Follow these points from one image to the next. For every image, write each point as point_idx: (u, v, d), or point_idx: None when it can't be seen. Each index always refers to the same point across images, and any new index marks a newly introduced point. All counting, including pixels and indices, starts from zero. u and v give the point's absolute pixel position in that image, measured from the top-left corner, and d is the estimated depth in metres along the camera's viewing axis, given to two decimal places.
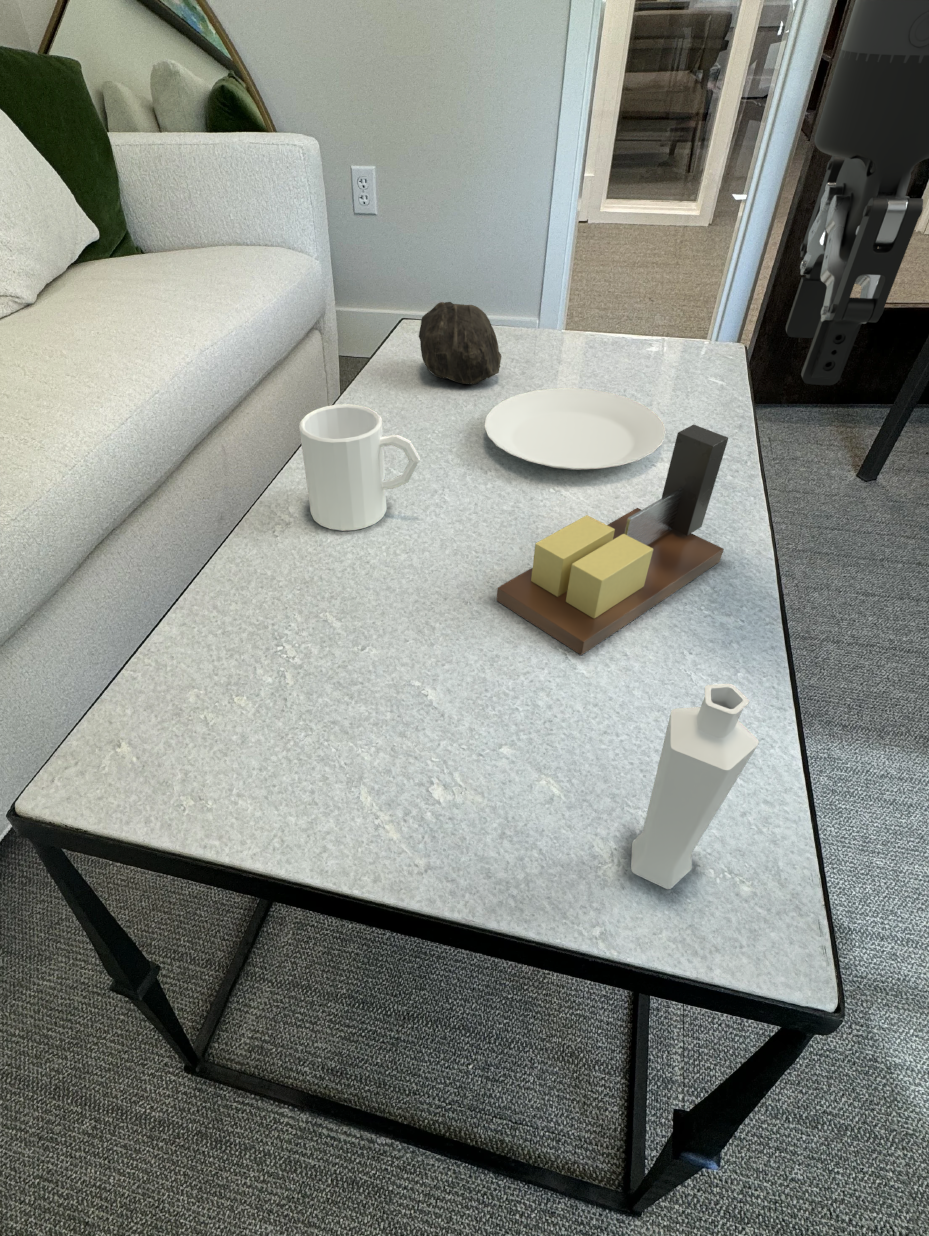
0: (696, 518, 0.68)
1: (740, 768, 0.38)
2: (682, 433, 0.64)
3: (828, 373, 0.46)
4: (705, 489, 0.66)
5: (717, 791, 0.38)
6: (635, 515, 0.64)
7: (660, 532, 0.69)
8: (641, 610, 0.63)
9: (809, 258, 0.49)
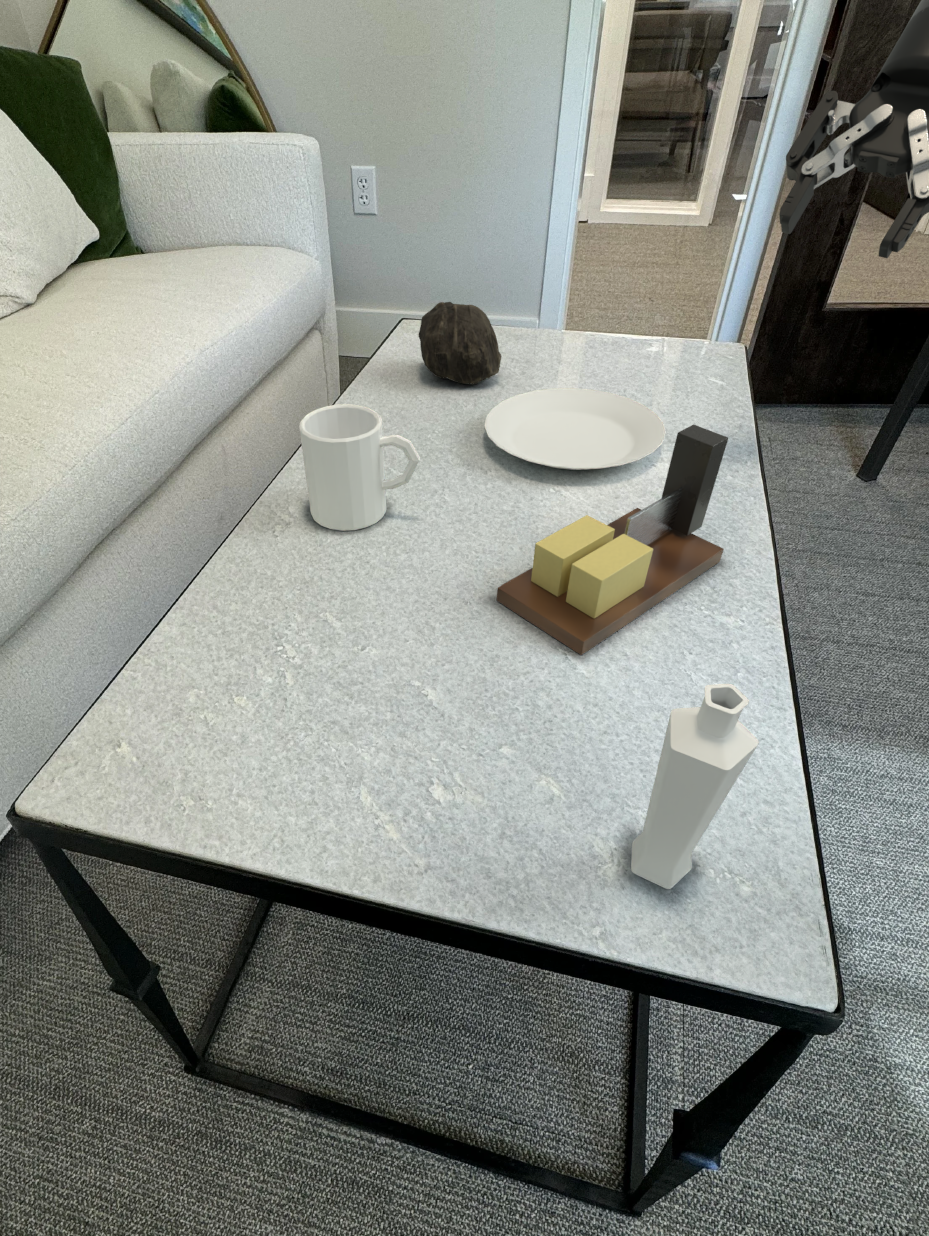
0: (696, 518, 0.68)
1: (740, 768, 0.38)
2: (682, 433, 0.64)
3: None
4: (705, 489, 0.66)
5: (717, 791, 0.38)
6: (635, 515, 0.64)
7: (660, 532, 0.69)
8: (641, 610, 0.63)
9: None
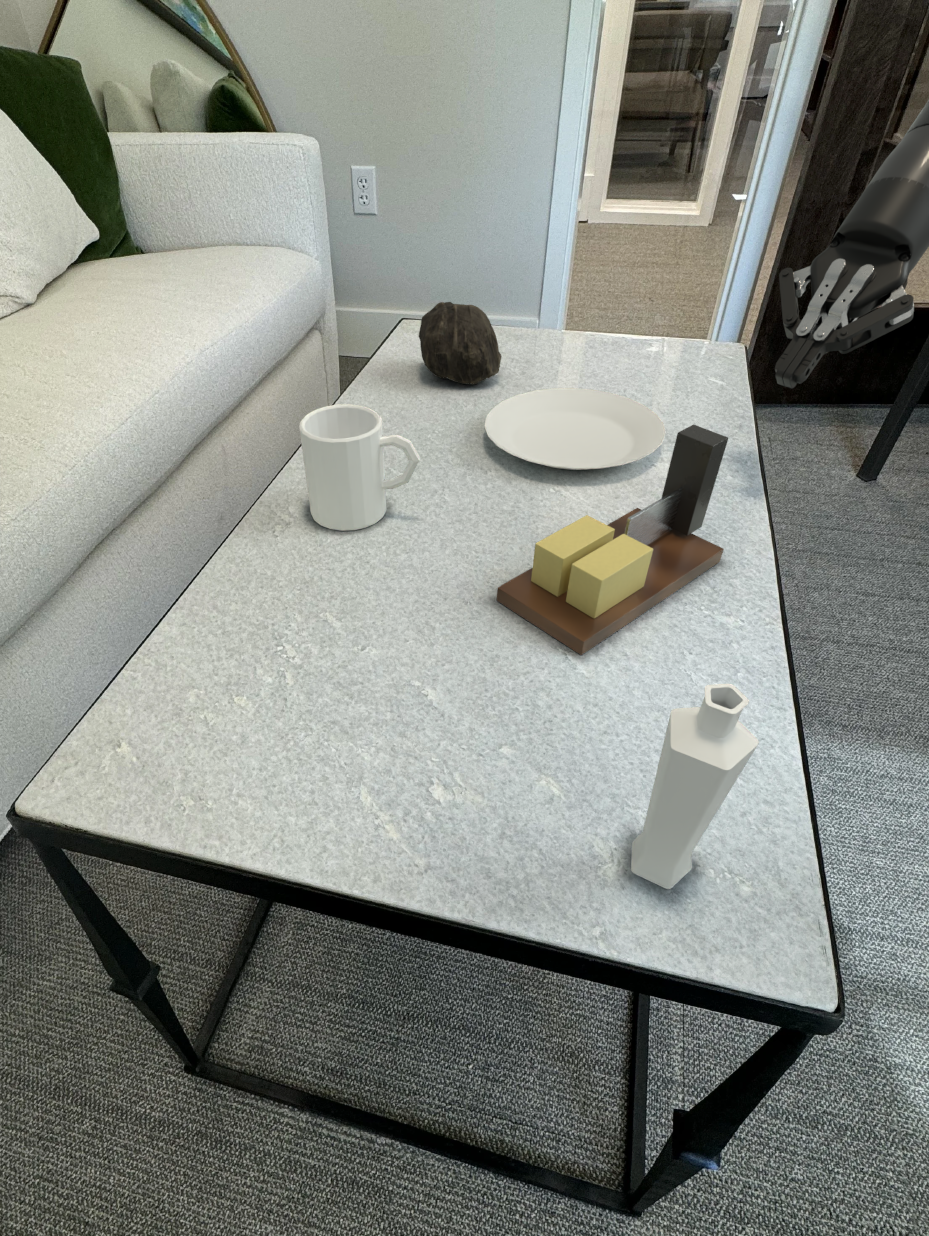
0: (696, 518, 0.68)
1: (740, 768, 0.38)
2: (682, 433, 0.64)
3: None
4: (705, 489, 0.66)
5: (717, 791, 0.38)
6: (635, 515, 0.64)
7: (660, 532, 0.69)
8: (641, 610, 0.63)
9: None
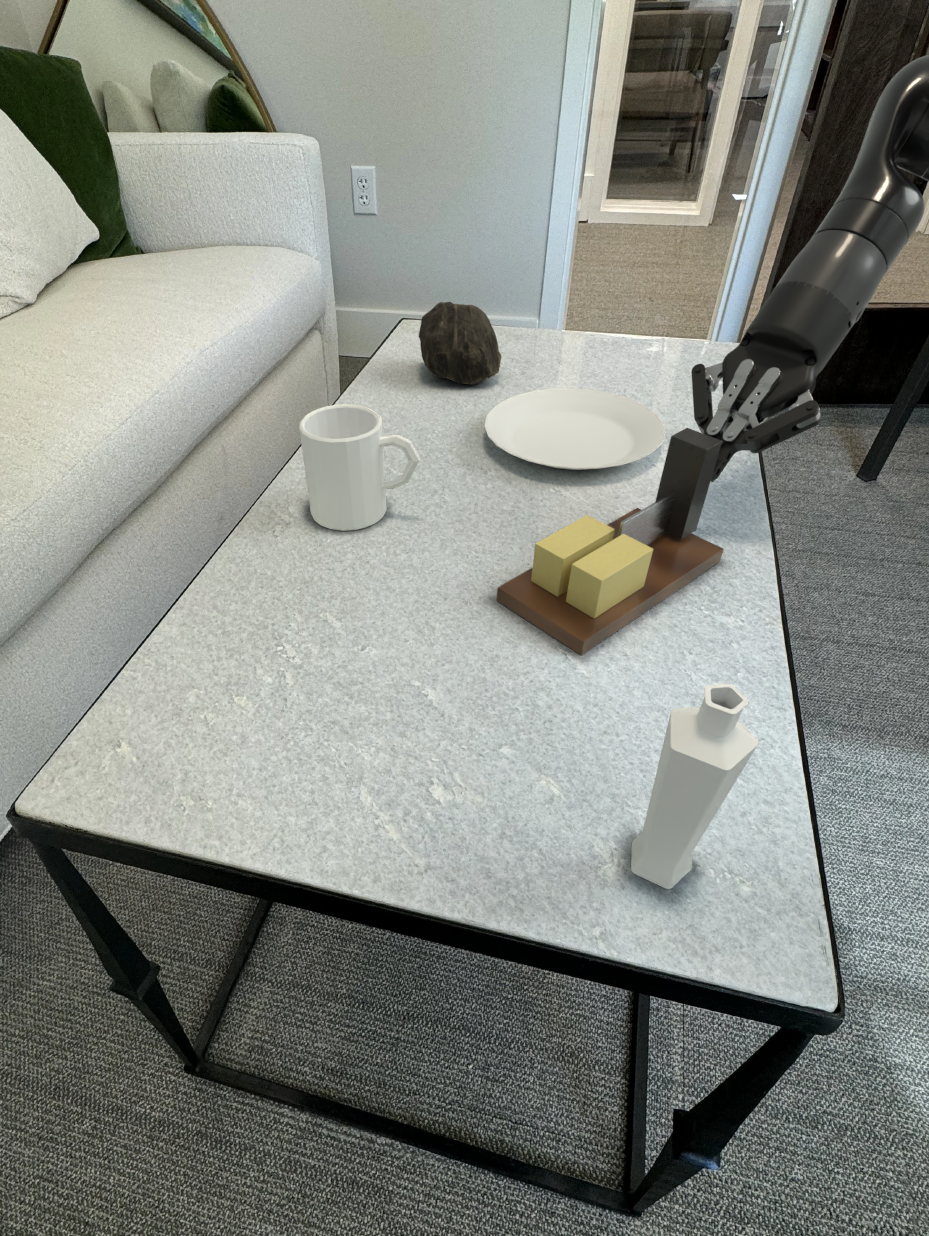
0: (690, 522, 0.68)
1: (740, 768, 0.38)
2: (676, 436, 0.64)
3: None
4: (699, 493, 0.66)
5: (717, 791, 0.38)
6: (628, 519, 0.63)
7: (654, 536, 0.68)
8: (641, 610, 0.63)
9: None
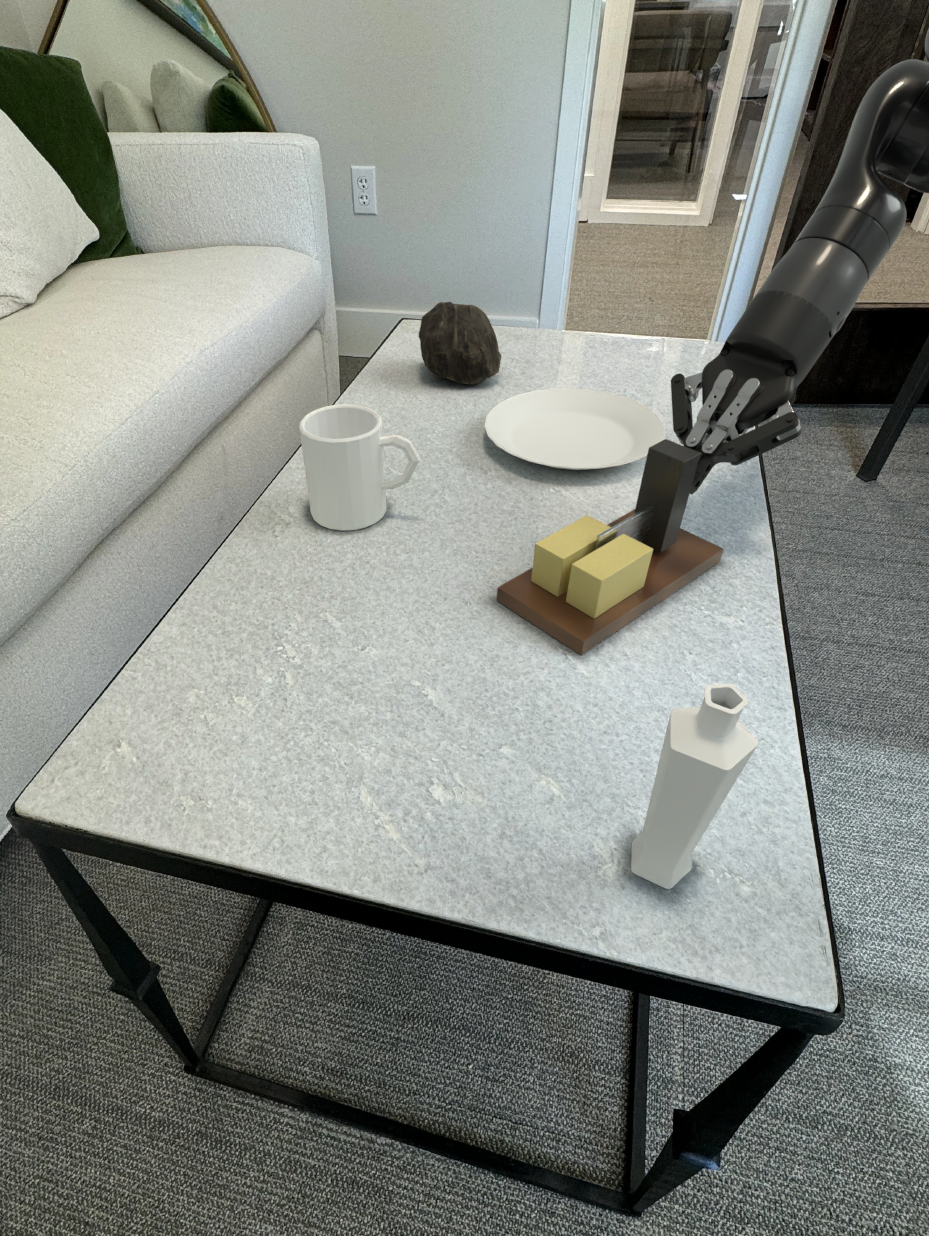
0: (669, 534, 0.66)
1: (740, 768, 0.38)
2: (653, 448, 0.63)
3: None
4: (678, 505, 0.64)
5: (717, 791, 0.38)
6: (605, 533, 0.62)
7: None
8: (641, 610, 0.63)
9: None
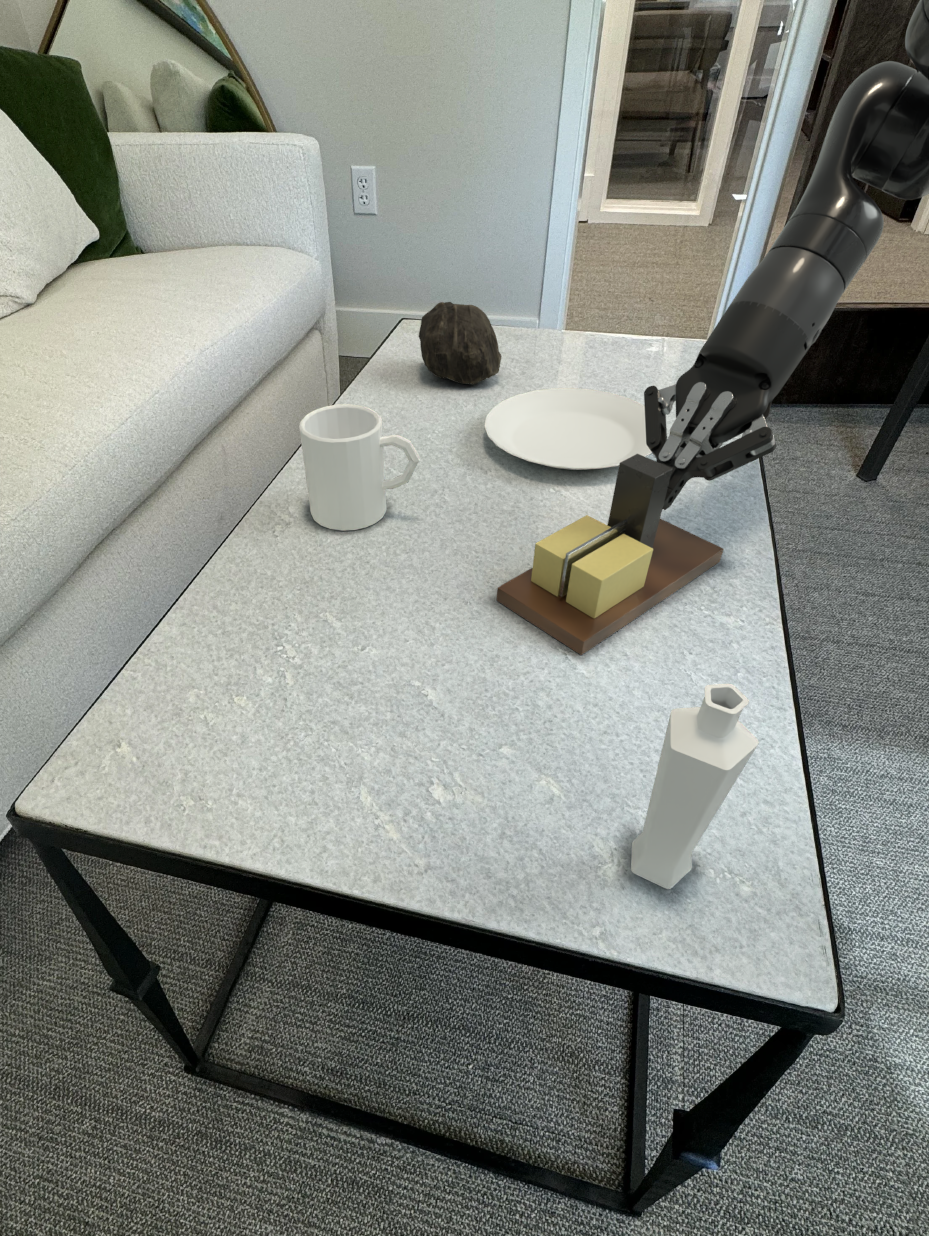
0: None
1: (740, 768, 0.38)
2: (624, 463, 0.61)
3: None
4: (650, 522, 0.63)
5: (717, 791, 0.38)
6: (574, 550, 0.60)
7: None
8: (641, 610, 0.63)
9: None
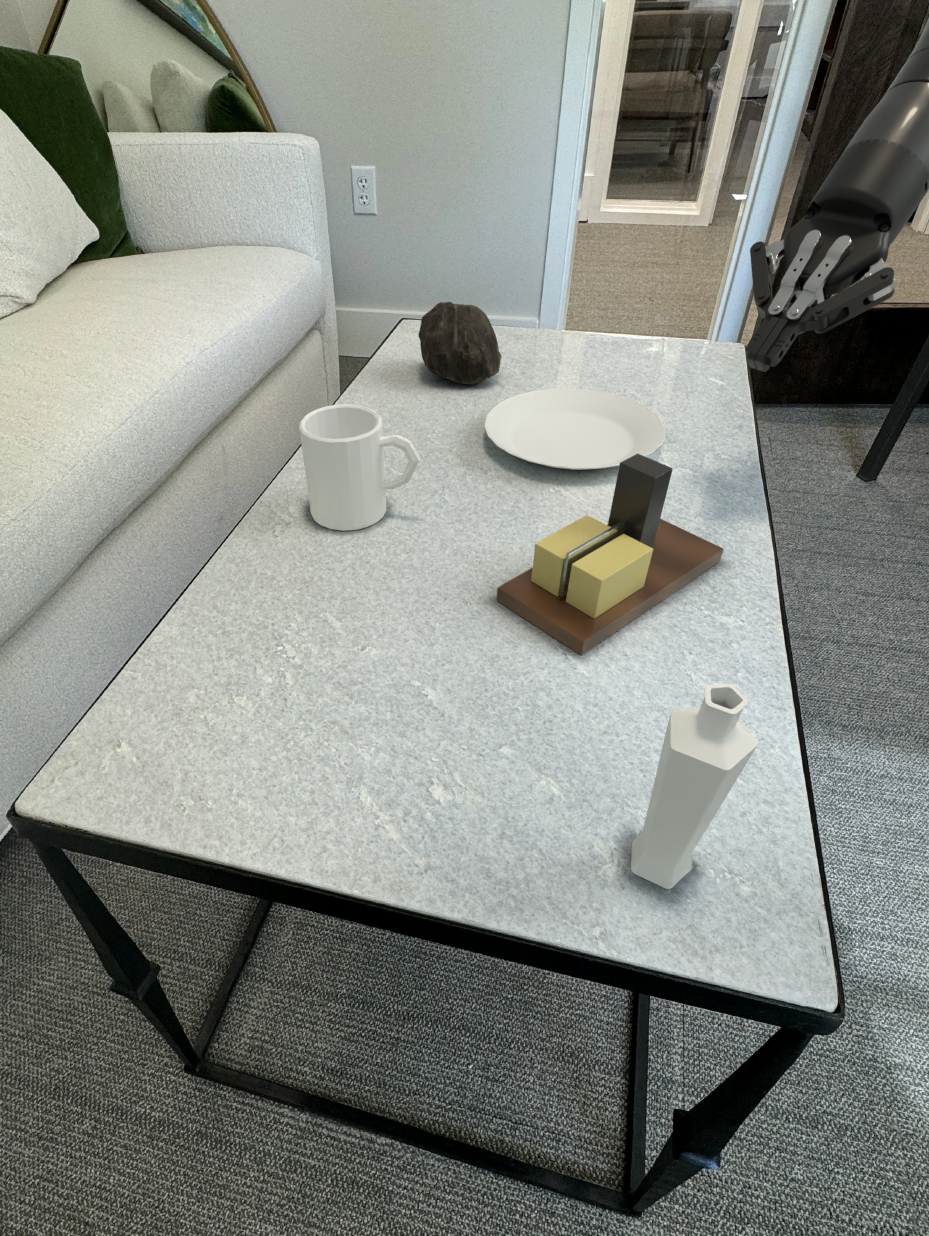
0: None
1: (740, 768, 0.38)
2: (624, 463, 0.61)
3: None
4: (650, 522, 0.63)
5: (717, 791, 0.38)
6: (574, 550, 0.60)
7: None
8: (641, 610, 0.63)
9: None
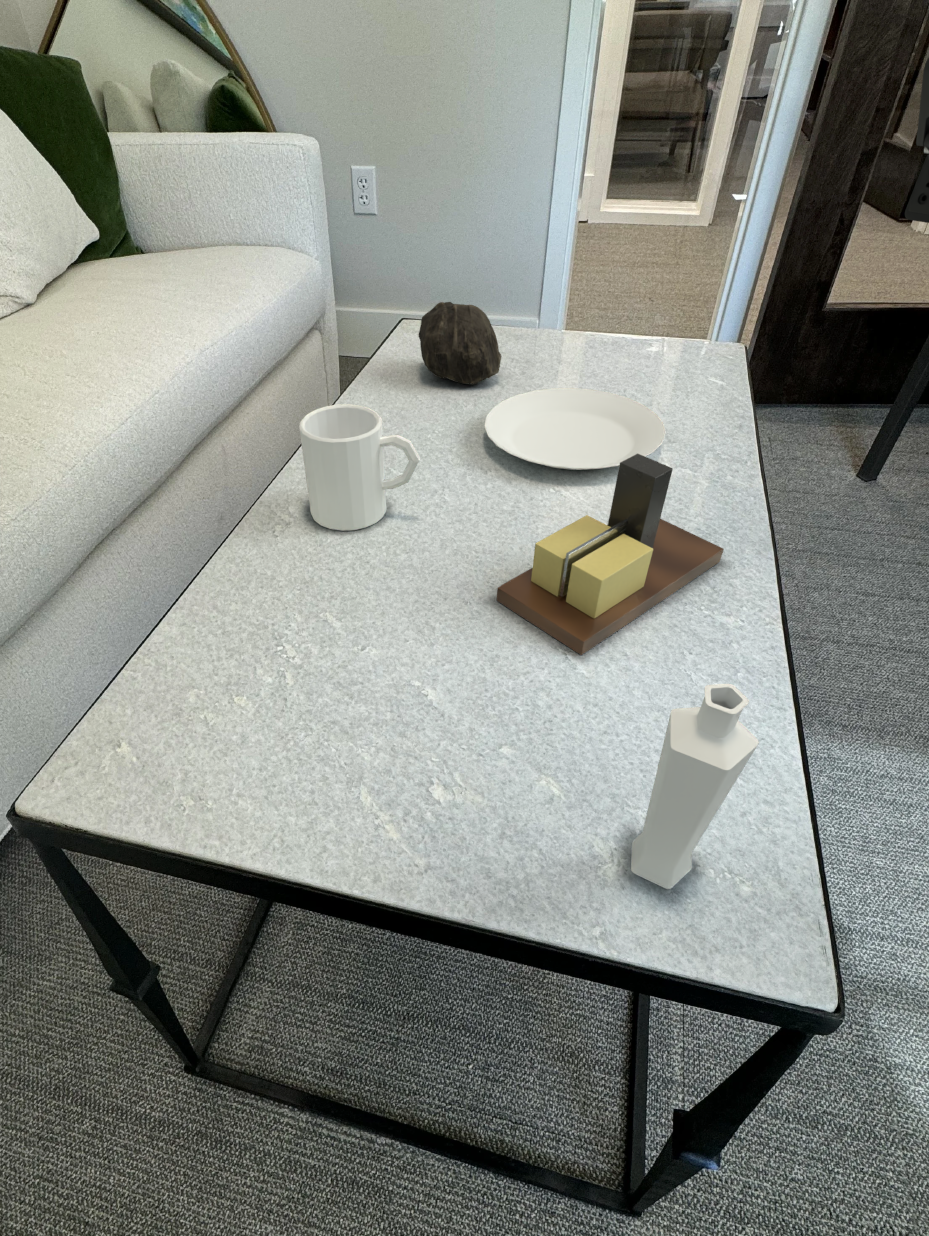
0: None
1: (740, 768, 0.38)
2: (624, 463, 0.61)
3: (921, 207, 0.51)
4: (650, 522, 0.63)
5: (717, 791, 0.38)
6: (574, 550, 0.60)
7: None
8: (641, 610, 0.63)
9: None
